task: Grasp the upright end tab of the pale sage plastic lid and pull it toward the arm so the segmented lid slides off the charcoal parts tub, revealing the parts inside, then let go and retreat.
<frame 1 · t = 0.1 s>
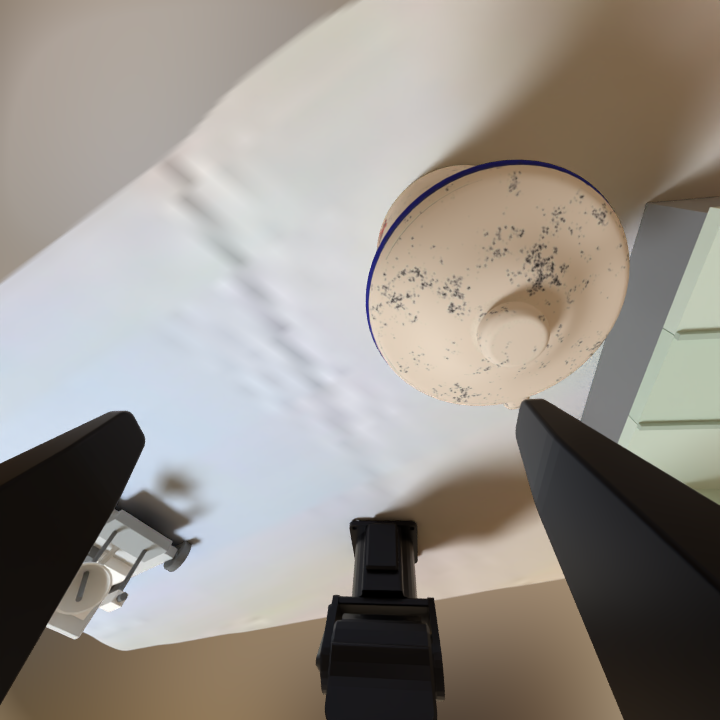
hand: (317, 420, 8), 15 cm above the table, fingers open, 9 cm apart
tub: (682, 334, 21), on the table
teacup with lid: (458, 271, 21), on the table
toy rover: (120, 529, 38), on the table
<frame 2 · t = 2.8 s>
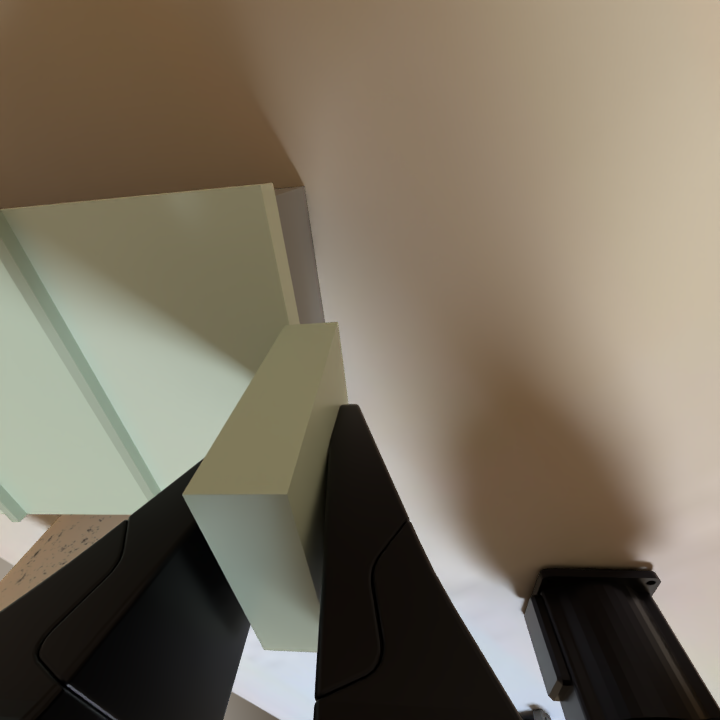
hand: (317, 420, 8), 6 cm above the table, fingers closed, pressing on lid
tub: (131, 327, 14), on the table
teacup with lid: (154, 530, 22), on the table
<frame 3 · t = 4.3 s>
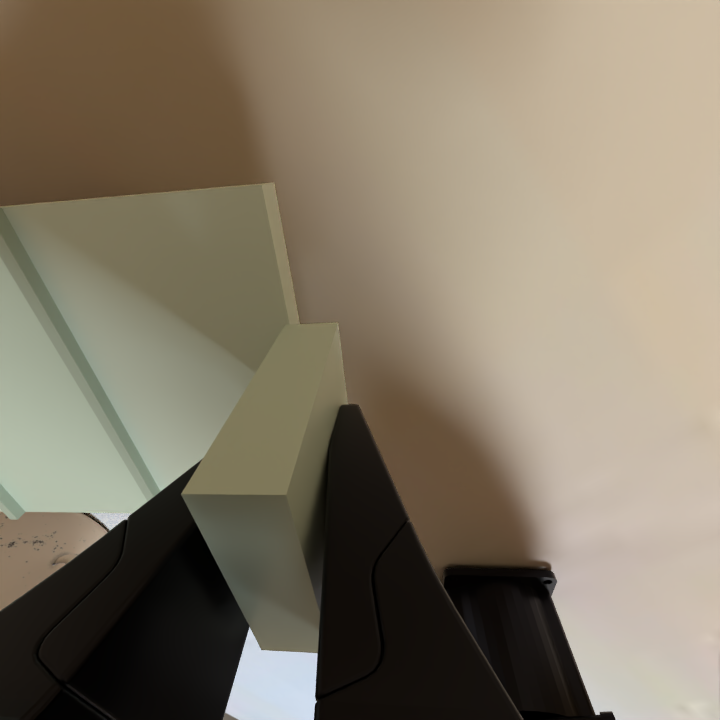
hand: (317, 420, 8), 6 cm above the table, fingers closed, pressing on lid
teacup with lid: (72, 527, 22), on the table
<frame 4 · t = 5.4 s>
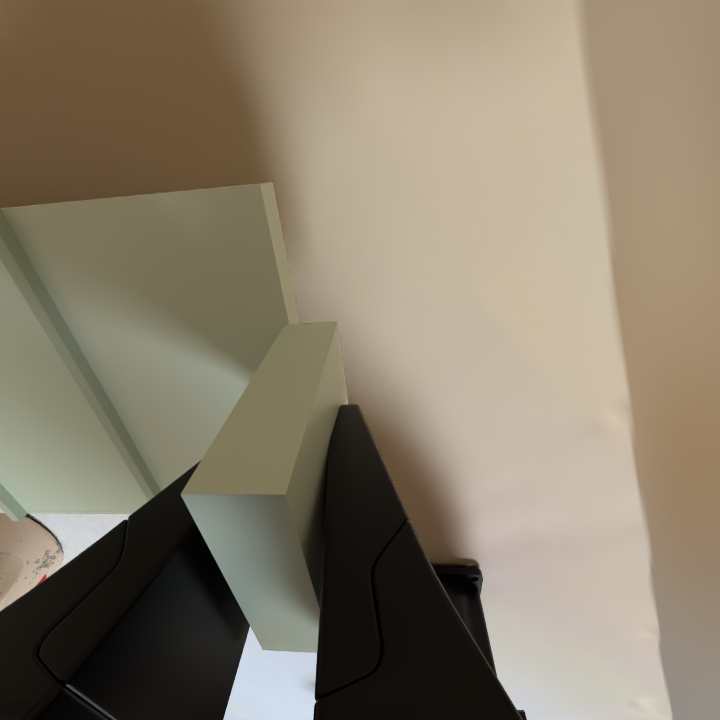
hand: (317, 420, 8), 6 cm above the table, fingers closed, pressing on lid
teacup with lid: (16, 527, 23), on the table
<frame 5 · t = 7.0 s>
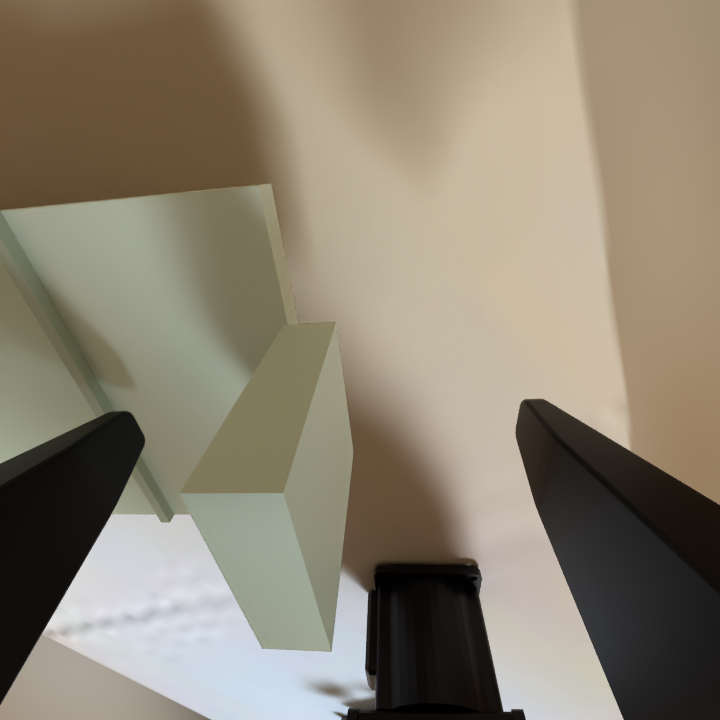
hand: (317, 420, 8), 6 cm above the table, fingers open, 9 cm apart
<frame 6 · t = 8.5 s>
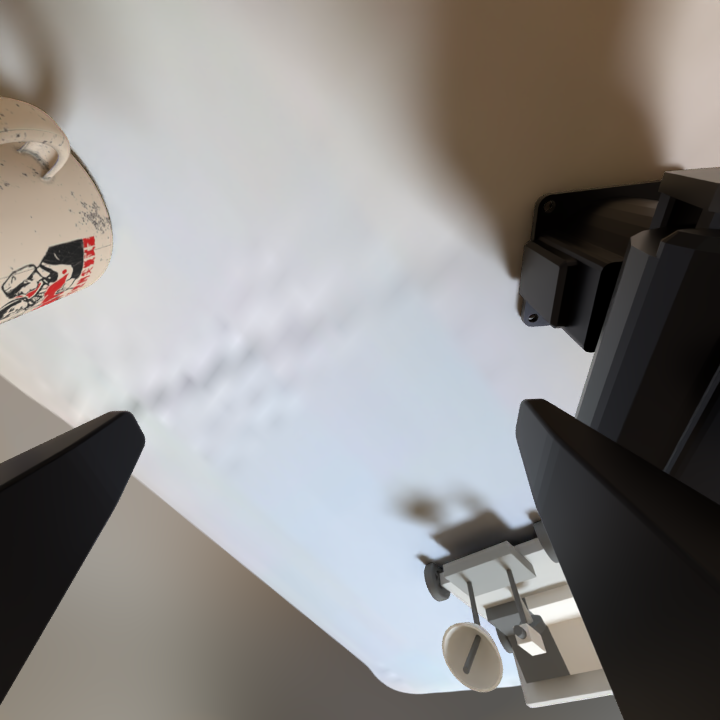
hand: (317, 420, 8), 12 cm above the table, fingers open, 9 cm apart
teacup with lid: (53, 194, 17), on the table
toy rover: (512, 567, 32), on the table
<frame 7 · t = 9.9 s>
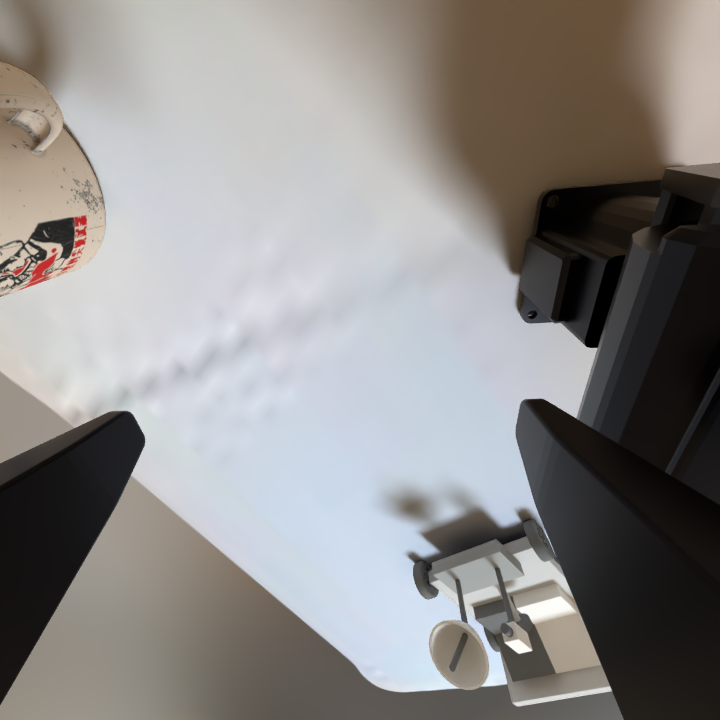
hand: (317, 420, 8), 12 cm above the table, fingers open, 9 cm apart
teacup with lid: (44, 171, 17), on the table
toy rover: (500, 566, 32), on the table
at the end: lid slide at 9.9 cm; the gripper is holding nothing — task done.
